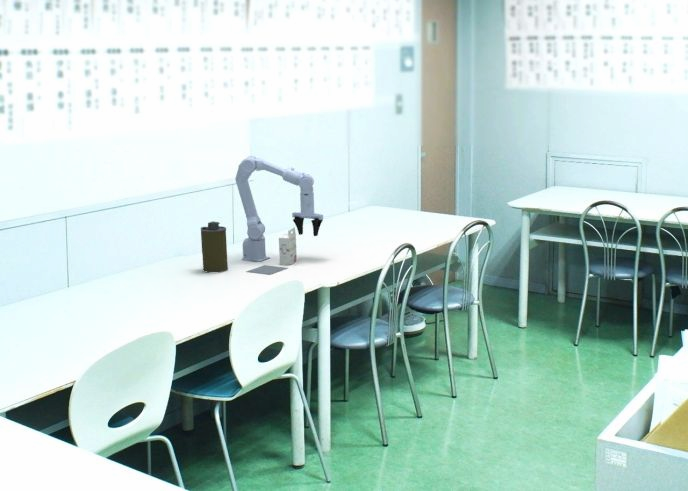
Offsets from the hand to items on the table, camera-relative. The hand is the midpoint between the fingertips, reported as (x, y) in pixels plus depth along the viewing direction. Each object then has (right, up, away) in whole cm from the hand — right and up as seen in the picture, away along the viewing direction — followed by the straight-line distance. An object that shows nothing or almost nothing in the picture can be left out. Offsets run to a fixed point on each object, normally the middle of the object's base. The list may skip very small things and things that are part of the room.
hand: (308, 235), depth 421 cm
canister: (-38, -15, -14) cm, 43 cm away
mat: (-16, -15, -17) cm, 27 cm away
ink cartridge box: (-8, -12, -4) cm, 15 cm away
